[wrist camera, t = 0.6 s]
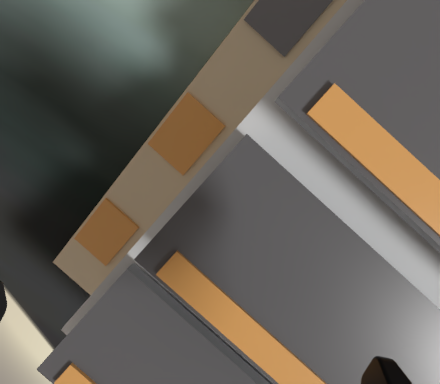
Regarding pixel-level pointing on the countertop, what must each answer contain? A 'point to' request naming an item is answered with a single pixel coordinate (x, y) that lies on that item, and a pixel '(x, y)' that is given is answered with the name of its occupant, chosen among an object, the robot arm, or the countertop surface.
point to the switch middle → (290, 279)
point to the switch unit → (225, 142)
